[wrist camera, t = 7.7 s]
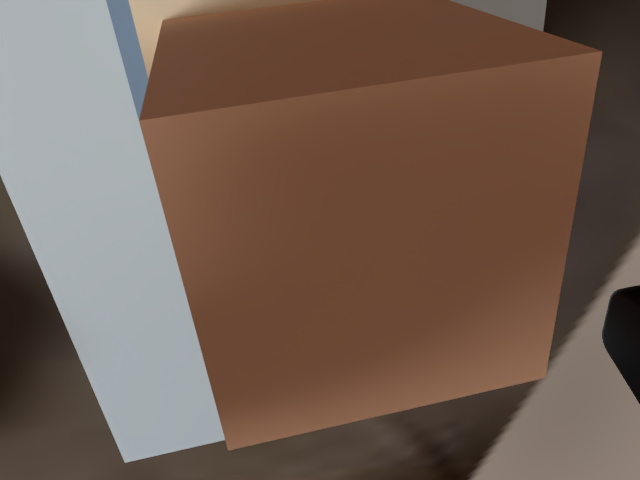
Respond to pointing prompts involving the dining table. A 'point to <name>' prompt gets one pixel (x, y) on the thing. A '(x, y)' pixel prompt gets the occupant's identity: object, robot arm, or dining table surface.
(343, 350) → the terracotta block
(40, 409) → the dining table surface
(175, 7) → the birch base block
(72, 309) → the blueprint board
